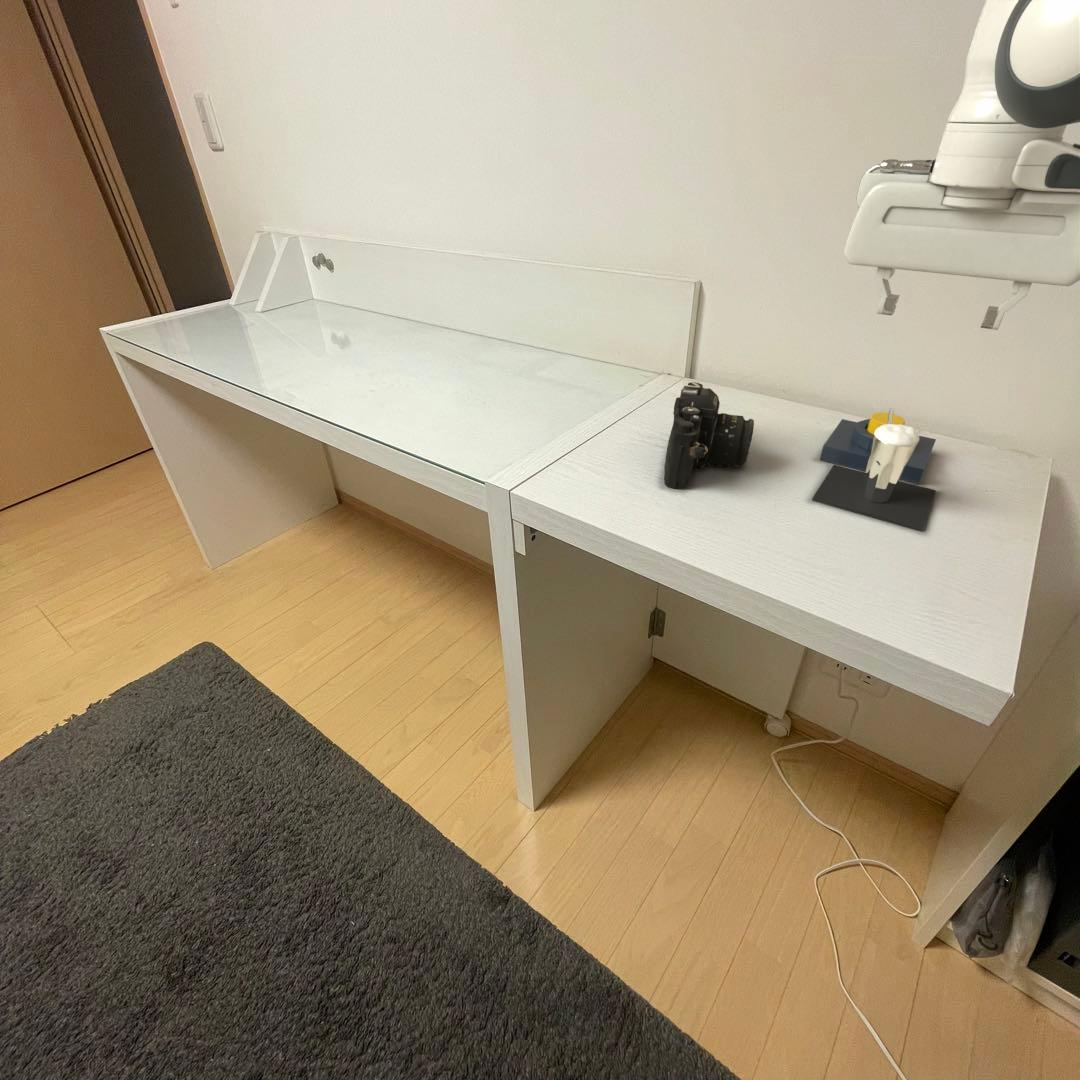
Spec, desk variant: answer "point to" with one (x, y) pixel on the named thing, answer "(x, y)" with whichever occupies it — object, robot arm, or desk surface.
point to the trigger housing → (854, 449)
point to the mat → (901, 509)
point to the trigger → (882, 421)
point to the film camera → (703, 436)
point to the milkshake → (888, 459)
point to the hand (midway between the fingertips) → (935, 320)
